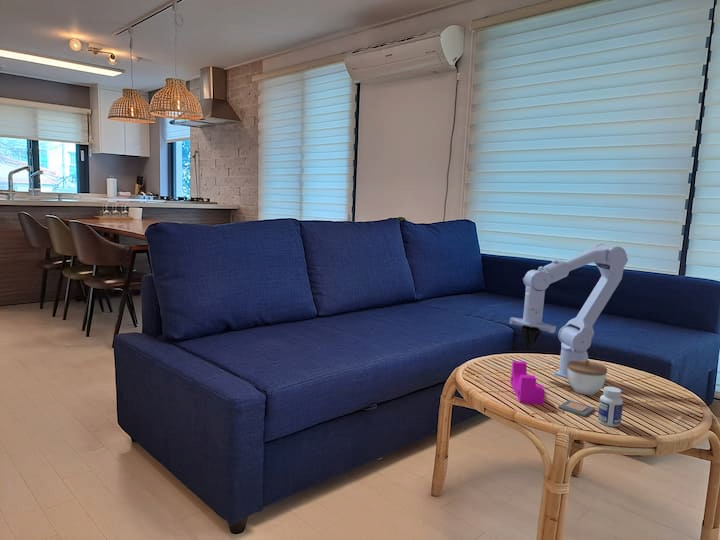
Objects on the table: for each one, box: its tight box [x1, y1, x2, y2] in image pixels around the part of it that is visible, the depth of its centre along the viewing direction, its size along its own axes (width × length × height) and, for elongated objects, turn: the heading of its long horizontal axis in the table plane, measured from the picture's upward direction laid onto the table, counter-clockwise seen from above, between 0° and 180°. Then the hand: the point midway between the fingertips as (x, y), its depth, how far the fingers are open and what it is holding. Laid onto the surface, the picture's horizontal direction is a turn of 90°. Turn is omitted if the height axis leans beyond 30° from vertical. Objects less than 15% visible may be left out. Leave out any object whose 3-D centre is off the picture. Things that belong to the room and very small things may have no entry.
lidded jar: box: [567, 359, 608, 396], centre depth 150 cm, size 11×11×9 cm
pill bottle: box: [597, 386, 624, 428], centre depth 128 cm, size 5×5×9 cm
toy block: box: [510, 360, 546, 406], centre depth 146 cm, size 15×6×8 cm, turn 173°
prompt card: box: [557, 399, 596, 418], centre depth 136 cm, size 7×7×1 cm
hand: (529, 350), depth 162 cm, fingers closed
